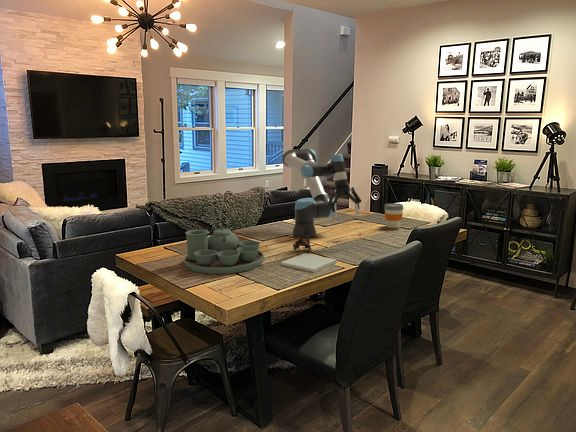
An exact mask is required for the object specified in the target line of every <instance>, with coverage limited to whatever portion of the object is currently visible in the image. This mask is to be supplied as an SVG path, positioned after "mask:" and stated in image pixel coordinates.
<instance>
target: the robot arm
mask: <svg viewBox="0 0 576 432" xmlns="http://www.w3.org/2000/svg"><path fill="white" fill-rule="evenodd" d="M281 157H282V158H281V161H282V162H281V163H282V164H283V165H284V166H285V167H286V168H288V169H291V168H292V169H294V170H296V171H298V172H300V174H301V176H302V177H303V178H305V181H306V183H307V186H308V188H309V192H310V194H311V196H312V197H304V198H303V197H302V198H300V199H297V200H295V202H294V204H295V205H294V216H295V217H294V227H293V230H292V233H291V234H292V237H293V238H295V239H302V238H304V239H312V238H315V237H316V238H317V231H316V230H317V229H316V226H315V223H314V222H315V219H325V218H333V217H334V218H335V219H336V218H338V217H339V216H338V211H337V202H338V200H339V198H342V197H347V198H349V199H350V201H352V202H353V203H354V210H355V215H356V216H359V215H360V211H359V210H360V208H361V207H360V203H362V199H361V198H360V196H359V195H358V194H357V192H356V190H355V187H349V181H348V177H347V176H348V175H347V170H346V165H345V159H344V157H343V154H341V153H336V154H332V155H330V160H329V161H330V162H329V163H318V156H317V153H316V151H315V150H313V149H312V148H300V149H299V148H297V149H294V148H293V149H288V150H287V151H285V152H284V153H283V154H282V156H281ZM320 177H324V178H325V179H329V178H332V177H333V181H334V188H335V189H334V188H332V189H331V190H330V195H329V194H328V193H326V192H325V188H324V186H323V183H322V181H321V178H320ZM335 193H336V196H335ZM334 196H335V197H334Z"/></svg>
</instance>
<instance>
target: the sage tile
mask: <svg viewBox="0 0 576 432" xmlns="http://www.w3.org/2000/svg"><path fill="white" fill-rule="evenodd" d="M336 263H338V260H337V259H336V258H331V257H324V256H320V255H316V254H311V253H302V254H299V255H296V256H294V257H291V258H289V259H286V260H284V261H280V265H281V266H284V267H289V268H293V269H298V270H302V271H306V272H311V273H316V272H318V271H321V270H323V269H325V268H328V267H329V266H332V265H334V264H336Z"/></svg>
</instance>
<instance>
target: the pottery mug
mask: <svg viewBox="0 0 576 432" xmlns="http://www.w3.org/2000/svg"><path fill="white" fill-rule="evenodd" d="M310 243H311V241H310V238H298V240H296V241H294V243H292V247H293V249H292V250H294V251H297V250H300V247H304V248H305V249H307V251H308V254H311V252H312V247H311V245H310Z"/></svg>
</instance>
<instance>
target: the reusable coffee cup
mask: <svg viewBox="0 0 576 432" xmlns="http://www.w3.org/2000/svg"><path fill="white" fill-rule="evenodd" d="M383 209H384V220H385V224H386V228H389V229H398V228H400V227H401V222H402V220H403V211H404V205H403V204H402V203H397V202H396V203H392V202H391V203H385V204H384V208H383Z"/></svg>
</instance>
